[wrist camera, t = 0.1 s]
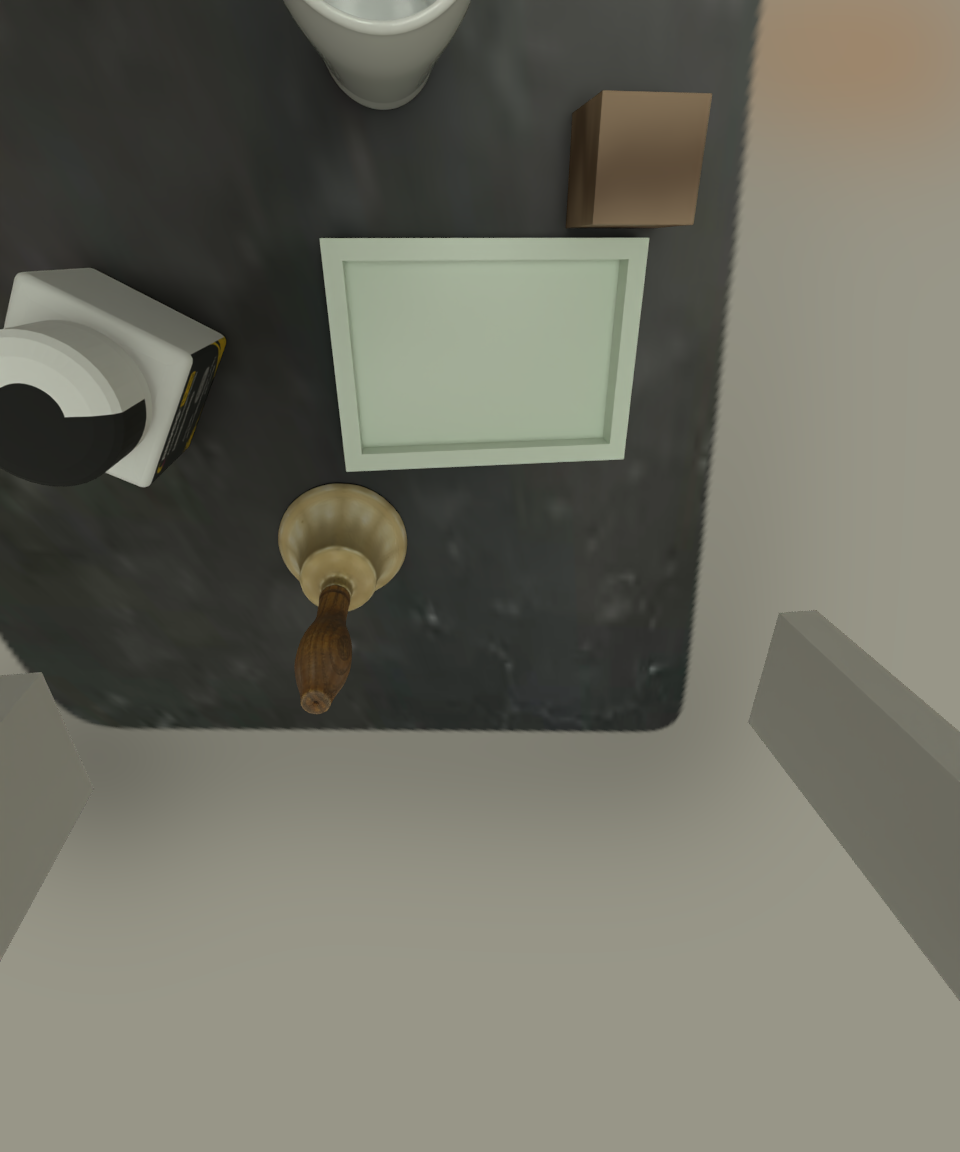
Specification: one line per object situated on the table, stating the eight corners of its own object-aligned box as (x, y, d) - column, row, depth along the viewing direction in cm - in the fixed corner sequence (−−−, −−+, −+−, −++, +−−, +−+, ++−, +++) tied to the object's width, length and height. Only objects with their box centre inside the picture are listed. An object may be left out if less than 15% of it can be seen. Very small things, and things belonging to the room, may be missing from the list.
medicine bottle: (188, 449, 35) (105, 533, 25) (56, 391, 33) (-98, 456, 23) (229, 336, 33) (155, 377, 22) (89, 264, 30) (-68, 272, 20)
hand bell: (381, 610, 42) (377, 785, 29) (263, 573, 40) (196, 746, 26) (426, 509, 39) (446, 651, 25) (301, 462, 37) (248, 592, 23)
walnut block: (571, 113, 30) (602, 90, 26) (666, 115, 31) (712, 93, 26) (565, 227, 33) (592, 224, 28) (653, 228, 33) (693, 224, 29)
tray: (323, 238, 31) (319, 238, 29) (635, 238, 33) (649, 237, 31) (348, 461, 37) (346, 471, 35) (613, 449, 39) (623, 459, 37)
